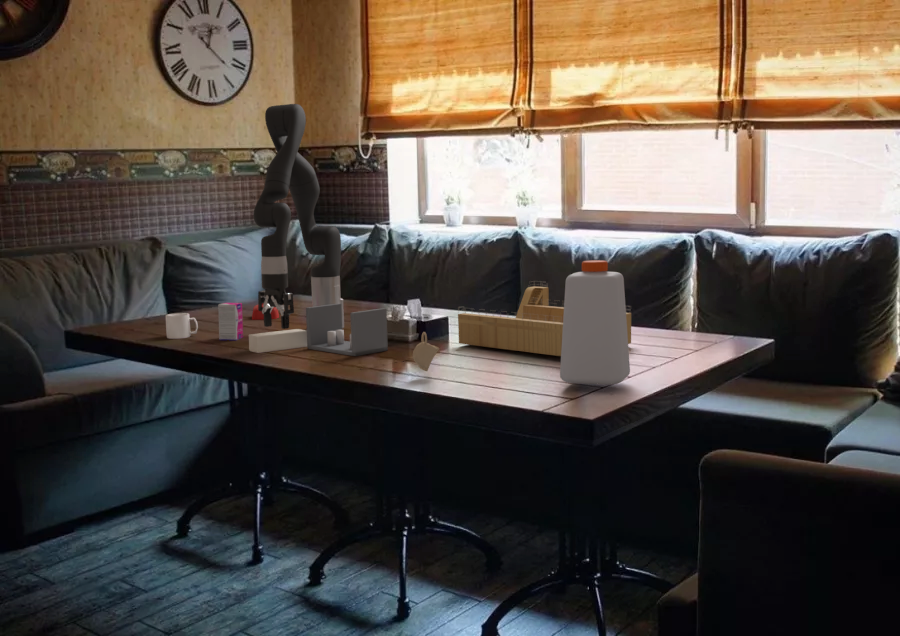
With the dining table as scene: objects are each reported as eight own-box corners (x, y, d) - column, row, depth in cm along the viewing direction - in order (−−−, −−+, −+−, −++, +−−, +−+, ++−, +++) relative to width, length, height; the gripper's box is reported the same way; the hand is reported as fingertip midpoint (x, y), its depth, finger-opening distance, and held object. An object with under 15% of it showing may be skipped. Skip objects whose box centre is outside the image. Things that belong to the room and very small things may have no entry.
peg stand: (307, 348, 295) (305, 307, 293) (339, 343, 303) (338, 303, 301) (355, 356, 280) (353, 313, 278) (387, 350, 288) (386, 308, 286)
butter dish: (281, 324, 349) (280, 300, 348) (247, 325, 348) (246, 301, 347) (283, 320, 361) (282, 296, 360) (250, 321, 360) (249, 297, 359)
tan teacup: (415, 366, 257) (404, 359, 253) (431, 338, 258) (420, 330, 254) (426, 372, 255) (415, 364, 251) (443, 343, 256) (432, 335, 252)
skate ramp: (458, 346, 294) (456, 291, 292) (534, 331, 319) (534, 280, 317) (569, 361, 266) (568, 300, 264) (643, 343, 292) (643, 287, 290)
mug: (198, 335, 326) (197, 312, 325) (198, 339, 319) (196, 315, 318) (167, 337, 324) (165, 313, 323) (166, 340, 317) (164, 316, 316)
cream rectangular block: (298, 345, 303) (297, 328, 302) (307, 347, 299) (306, 330, 298) (249, 351, 294) (248, 334, 293) (257, 353, 289) (257, 336, 289)
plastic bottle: (555, 383, 236) (554, 263, 232) (571, 371, 250) (571, 258, 246) (620, 386, 231) (620, 264, 227) (633, 374, 244) (633, 258, 241)
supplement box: (236, 341, 312) (234, 304, 310) (218, 341, 313) (216, 304, 311) (244, 338, 317) (242, 302, 316) (226, 338, 318) (224, 302, 317)
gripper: (299, 272, 291) (301, 328, 293) (270, 270, 301) (272, 324, 303) (278, 273, 285) (280, 330, 287) (249, 271, 295) (251, 327, 297)
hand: (276, 327), depth 295 cm, fingers open, 8 cm apart
